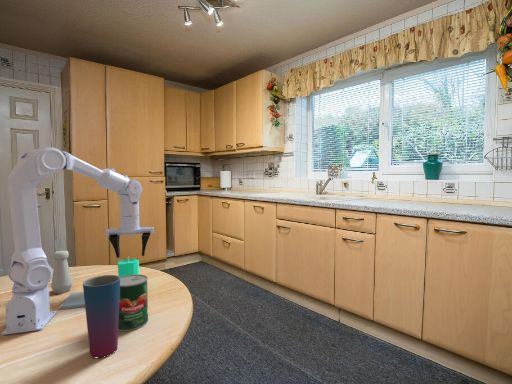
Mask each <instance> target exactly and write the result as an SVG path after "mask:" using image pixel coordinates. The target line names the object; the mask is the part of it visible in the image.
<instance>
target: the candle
mask: <svg viewBox="0 0 512 384" xmlns="http://www.w3.org/2000/svg"><path fill="white" fill-rule="evenodd" d="M129 257H130V256H127V259H125V258H123V259H121V260H118V261H117V276H119V277H123V276H127V275H140V260H139V259H136V258H129Z"/></svg>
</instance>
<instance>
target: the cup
mask: <svg viewBox="0 0 512 384" xmlns="http://www.w3.org/2000/svg"><path fill="white" fill-rule="evenodd" d="M82 289H83V290H82V292H84V300H85V307H84V308H85V309H84V310H85V317H86V329H87V337H88V346H89V347H88V348H89V354H90V355H91V356H92V357H104V356H107V355H110V354H112V353H113V352H114V351H115V352H116V351H117V350H118V343H119V331H118V322H119V298H120V277H119V276H118V274H117V275H116V274H104V275H97V276H94V277H90V278H88V279H86V280H84V281H83V282H82ZM115 352H114V353H115ZM114 353H113V354H114ZM113 354H112V355H113ZM90 355H89V356H90ZM91 356H90V357H91ZM110 356H111V355H110ZM92 357H91V358H92ZM107 357H108V356H107ZM104 358H105V357H104Z"/></svg>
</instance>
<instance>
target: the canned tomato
mask: <svg viewBox="0 0 512 384" xmlns="http://www.w3.org/2000/svg"><path fill="white" fill-rule="evenodd" d="M148 296H149V294H148V276H147V275H145V274H139V275H127V276H123V277H120V298H119V322H118V332H131V330H132V331H135V329H136V330H139V329H141V328H143V327H144V326H145V325H146V324H148V322H149V305H148V304H149V301H148V300H149V299H148V298H149V297H148ZM140 327H141V328H140ZM138 328H139V329H138Z"/></svg>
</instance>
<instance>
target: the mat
mask: <svg viewBox="0 0 512 384" xmlns="http://www.w3.org/2000/svg"><path fill="white" fill-rule="evenodd" d="M76 308H85V300H84V291H79V292H71V293H70V294H69V295H68V296H67V298H65V300H64V301H63V302H62V303H61V304H60V305H59V310H61V311H62V310H67V309H68V310H69V309H76Z"/></svg>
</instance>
